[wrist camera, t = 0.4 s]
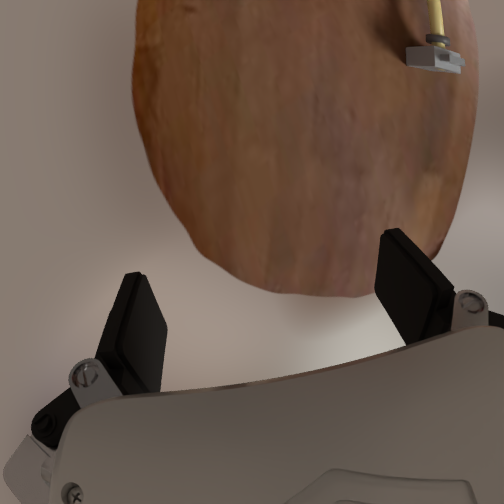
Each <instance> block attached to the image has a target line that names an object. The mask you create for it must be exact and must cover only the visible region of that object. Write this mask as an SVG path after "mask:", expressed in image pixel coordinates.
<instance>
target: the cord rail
mask: <svg viewBox="0 0 504 504" xmlns="http://www.w3.org/2000/svg"><path fill="white" fill-rule="evenodd" d="M427 5H428V12H429V21H430V31H431V34H426V42H427V43H430V44H432V46H418V47H406V65H407V66H411V67H416V68H421V69H425V70H430V71H439V72H450V73H459V74H461V70H460V66H465V59H462V58H460V54H458V53H456V52H453V51H450V50H446V49H445V46H450V39H449V38H448V37H445V36H444V28H443V19H442V11H441V4H440V0H427Z"/></svg>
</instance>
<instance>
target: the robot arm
mask: <svg viewBox="0 0 504 504" xmlns="http://www.w3.org/2000/svg"><path fill="white" fill-rule="evenodd" d="M374 289H375V293H376V295H377V297H378V299H379V300H380V302H381V303H382V305H383V307H384V308H385V310H386V311H387V313H388V315H389V317H390V318H391V319H392V322H393V323H394V325H395V327H396V328H397V330H398V332H399V333H400V335H401V337H402V339H403V340H404V342H405V344H406V346H403V347H400V348H397V349H393V350H390V351H387V352H384V353H380V354H377V355H373V356H370V357H366V358H363V359H358V360H355V361H351V362H347V363H343V364H339V365H335V366H330V367H326V368H322V369H318V370H313V371H308V372H304V373H299V374H294V375H288V376H283V377H278V378H272V379H267V380H260V381H255V382H248V383H241V384H234V385H226V386H218V387H210V388H200V389H190V390H181V391H169V392H160V389H161V379H162V369H163V362H164V354H165V346H166V338H167V325H166V322H165V320H164V318H163V315H162V313H161V310H160V308H159V306H158V303H157V301H156V299H155V296H154V294H153V292H152V289H151V287H150V284H149V282H148V280H147V277H146V275H142V274H141V273H140V272H133V273H128V274H125V276H124V278H123V281H122V284H121V286H120V289H119V291H118V294H117V297H116V299H115V302H114V305H113V308H112V310H111V311H110V313H109V316H108V319H107V322H106V325H105V328H104V331H103V334H102V337H101V339H100V343H99V346H98V349H97V352H96V355H95V358H94V359H93V358H88V359H84V360H82V361H80V362H78V363H77V364H76V365H75V366H74V367H73V369H72V370H71V372H70V374H69V379H68V381H69V385H70V388H68V389H67V390H66V391H64V392H63V393H62V394H61V395H59V396H58V397H57V398H55V399H54V400H53V401H52V402H50V403H49V404H48V405H46V406H45V407H44V408H43V409H41V410H40V411H39V412H38V413H37V414H36V415H35V417H34V418H33V420H32V424H31V430H32V435H31V436H29V435H27V436H26V437H25V438H24V440H23V441H22V443H21V444H20V445H19V447H18V448H17V449H16V451H15V452H14V454H13V455H12V456H11V458H10V459H9V461H8V462H7V464H6V465H5V467H4V471H3V477H4V480H5V482H6V484H7V486H8V487H9V488H10V490H11V491H12V492H13V494H14V495H15V496H16V497H17V499H18V500H19V501H20V502H21V503H22V504H504V316H503V315H501V314H497V313H495V312H491V311H489V310H488V304H487V302H486V300H485V298H484V297H483V296H482V295H481V294H479V293H477V292H475V291H472V290H461V291H459V292H458V293H457V294H456V293H455V291H454V286H453V285H452V284H451V282H450V281H449V280H448V279H447V278H446V277H445V276H444V275H443V274H442V272H441V271H440V270H439V269H438V268H437V267H436V266H435V265H434V264H433V263H432V261H431V260H430V259H429V258H428V257H427V256H426V255H425V254H424V253H423V252H422V251H421V250H420V249H419V248H418V247H417V246H416V245H415V244H414V243H413V242H412V241H411V240H410V239H409V238H408V237H407V236H406V235H405V234H404V233H403V232H402V231H401V230H400V229H399V228H394V229H388V230H385V231H384V234H382V235H381V237H380V246H379V255H378V264H377V272H376V279H375V286H374Z"/></svg>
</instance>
